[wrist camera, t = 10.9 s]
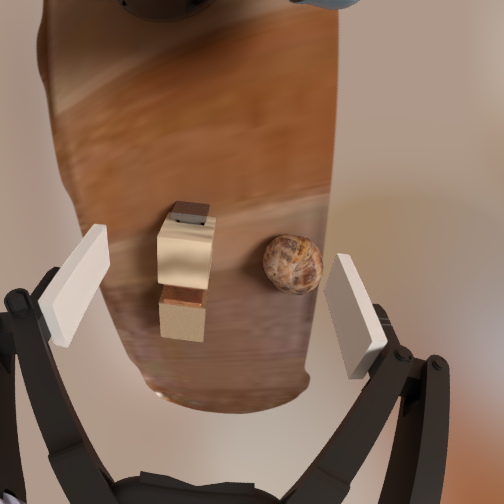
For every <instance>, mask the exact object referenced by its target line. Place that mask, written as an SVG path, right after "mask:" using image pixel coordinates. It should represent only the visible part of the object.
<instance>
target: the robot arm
mask: <svg viewBox="0 0 504 504" xmlns="http://www.w3.org/2000/svg"><path fill="white" fill-rule="evenodd" d="M118 1H119V2H120V4H121V5H122V6H123V7H124V8H125V9H126V10H127V11H128V12H130V13H132V14H133V15H135V16H138V17H140V18H142V19H145V20H149V21H154V22H171V21H177V20H181V19H184V18H187V17H190V16H192V15H195V14H197V13H198V12H200V11H202V10H203V9H205V8H206V7H208V6H209V5H210V4H211V3H212V2H213V1H214V0H118ZM289 1H290V2H292V3H296V4H298V3H299V4H309V5H313V6H317V7H321V8H325V9H329V10H331V9H332V10H338V9H344V8H347V7H350V6H351V5H354V4H355V3H357V2H358V1H360V0H289ZM109 267H110V259H109V251H108V241H107V231H106V225H99V224H94V225H93V226H92V227H91V229H90V230H89V231H88V232H87V234H86V235H85V236H84V237H83V239H82V240H81V241H80V243H79V244H78V245H77V246H76V248H75V249H74V250H73V252H72V253H71V254H70V256H69V257H68V258H67V260H66V261H65V263H64V264H63V265H62V267H61V268H59V267H54V268H52V269H51V270H49V271H48V272H47V273H46V275H45V276H44V277H43V278H42V280H41V281H40V283H39V285H37V287H36V288H35V290H34V291H33V293H32V294H31V295H29V293H28V291H27V290H25V289H22V288H18V289H14V290H12V291H10V292H9V293H8V294H7V295H6V297H5V298H4V304H5V306H6V309H7V311H8V312H2V313H0V504H27V501H26V489H25V482H24V477H23V471H22V465H21V458H20V452H19V443H18V434H17V423H16V406H15V354H17V355H18V360H19V364H20V368H21V372H22V376H23V379H24V383H25V386H26V390H27V393H28V396H29V399H30V402H31V406H32V409H33V412H34V414H35V417H36V420H37V423H38V426H39V428H40V431H41V433H42V436H43V439H44V441H45V443H46V446H47V448H48V451H49V455H48V458H49V462H50V464H51V466H52V469H53V471H54V473H55V475H56V477H57V479H58V481H59V483H60V485H61V487H62V489H63V491H64V493H65V495H66V497H67V498H68V500H69V502H70V504H341V503H342V501H343V500H344V498H345V497H346V495H347V494H348V492H349V490H350V483H351V481H352V480H353V478H354V477H355V475H356V474H357V472H358V470H359V469H360V467H361V465H362V464H363V462H364V461H365V459H366V457H367V455H368V454H369V452H370V450H371V448H372V447H373V445H374V443H375V441H376V440H377V437H378V436H379V434H380V432H381V430H382V428H383V427H384V425H385V423H386V421H387V419H388V417H389V415H390V413H391V411H392V409H393V407H394V405H395V403H396V401H397V399H398V396H401V402H400V409H399V415H398V420H397V426H396V431H395V436H394V442H393V446H392V451H391V456H390V460H389V464H388V468H387V472H386V476H385V480H384V484H383V487H382V491H381V494H380V498H379V501H378V504H440V500H441V494H442V487H443V480H444V474H445V465H446V456H447V446H448V432H449V409H450V378H449V377H450V375H449V365H448V363H447V361H446V360H445V359H444V358H442V357H441V356H439V355H431V356H430V357H429V358H428V359H427V360H426V361H425V360H421V359H418V358H414V357H413V354H412V353H411V351H410V350H409V349H407V348H406V347H404V346H402V345H400V343H399V340H398V338H397V336H396V334H395V332H394V329H393V327H392V326H391V323H390V320H388V316H387V314H386V312H385V310H384V309H383V308H382V307H381V306H380V305H379V304H372V303H371V301H370V299H369V296H368V295H367V292H366V290H365V288H364V285H363V283H362V281H361V279H360V277H359V275H358V272H357V270H356V268H355V266H354V264H353V262H352V260H351V258H350V256H349V255H347V254H339V253H337V255H336V258H335V261H334V263H333V266H332V269H331V272H330V275H329V278H328V280H327V283H326V286H325V289H324V293H325V296H326V300H327V303H328V306H329V310H330V313H331V317H332V320H333V324H334V327H335V330H336V334H337V338H338V341H339V345H340V349H341V352H342V356H343V360H344V363H345V367H346V370H347V375H348V378H349V379H363V378H364V377H365V375H366V374H367V372H368V373H369V376H370V379H369V380H368V382H367V383H366V385H365V386H364V388H363V389H362V390H361V391H362V392H361V393H360V395H359V396H358V398H357V400H356V401H355V403H354V404H353V406H352V407H351V409H350V410H349V412H348V413H347V415H346V416H345V418H344V419H343V421H342V422H341V424H340V425H339V427H338V428H337V430H336V431H335V432H334V434H333V435H332V437H331V438H330V439H329V441H328V442H327V444H326V445H325V446H324V448H323V449H322V450H321V452H320V453H319V454H318V456H317V457H316V458H315V460H314V461H313V462H312V463H311V465H310V466H309V467H308V469H307V470H306V471H305V472H304V474H303V475H302V476H301V477H300V478H299V480H298V481H297V482H296V483H295V484H294V485H293V486H292V487H291V489H290V490H289V491H288V492H287V493H286V494H285V495H284V496H283V497H282V498H281V499H280V500H279V499H278V498H276V497H275V496H273V495H271V494H269V493H267V492H265V491H263V490H260V489H256V488H254V483H236V482H224V483H218V484H210V485H203V486H194V485H191V484H189V483H186V482H183V481H180V480H177V479H175V478H172V477H170V476H166V475H159V474H153V473H148V472H143V471H141V472H140V476H134V477H128V478H125V479H122V480H119V481H117V482H114V480H113V479H112V477H111V476H110V474H109V473H108V471H107V470H106V468H105V467H104V465H103V464H102V462H101V460H100V459H99V457H98V455H97V453H96V452H95V450H94V448H93V446H92V444H91V442H90V440H89V438H88V436H87V435H86V432H85V431H84V428H83V426H82V425H81V422H80V420H79V418H78V416H77V414H76V412H75V410H74V407H73V405H72V403H71V401H70V398H69V396H68V394H67V391H66V389H65V386H64V384H63V381H62V379H61V377H60V374H59V371H58V369H57V366H56V363H55V360H54V358H53V355H52V352H51V349H50V346H49V344H48V341H49V339H50V337H52V340H53V342H54V344H55V345H59V346H63V347H66V348H68V346H69V344H70V342H71V340H72V338H73V335H74V334H75V331H76V329H77V327H78V325H79V323H80V321H81V319H82V317H83V315H84V313H85V311H86V309H87V307H88V305H89V303H90V301H91V299H92V298H93V295H94V294H95V292H96V290H97V288H98V286H99V285H100V283H101V281H102V279H103V277H104V275H105V274H106V272H107V270H108V268H109Z"/></svg>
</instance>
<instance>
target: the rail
mask: <svg viewBox="0 0 504 504" xmlns="http://www.w3.org/2000/svg"><path fill="white" fill-rule="evenodd" d="M208 212H209V204H200V203H191V202H182V201H177V202H176V204H175V206H174V208H173V210H172V212H171V219H178V220H180V223H186V224H195V225H201V222H204V223H206V221H207V216H208ZM209 282H210V279H209V281H208V288H207V289H203V290H198V289H190V288H183V287H175V286H167V285H164V288H163V291H162V294H161V298H160V301H159V315H160V330H161V337H167V338H174V339H181V340H189V341H197V342H203V339H204V331H205V323H206V315H207V305H208V293H209Z"/></svg>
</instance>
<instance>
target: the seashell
mask: <svg viewBox="0 0 504 504" xmlns="http://www.w3.org/2000/svg"><path fill="white" fill-rule="evenodd" d="M263 267H264V271H265V273H266V275H267V277H268V278H269V279H270V280H271V281H272V282H273V283H274V285H275V286H276V287H277V288H278V289H280V290H281V291H282V292H284V293H286V294H288V295H303V294H306V293H308V292H310V291H312V290H313V289H314V288H315V287H316V286H317V285H318V284H319V282H320V280H321V278H322V275H323V268H324V266H323V259H322V255H321V253H320V251H319V249H318V248H317V247H316V245H315V244H313V243H312V242H311V241H310V240H309V239H308V238H304V237H301V236H297V235H281V236H279V237H277V238H275V239H274V240H273V241H271V242H270V243H269V245H268V246H267V248H266V249H265V252H264V256H263Z"/></svg>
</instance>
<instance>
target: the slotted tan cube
mask: <svg viewBox="0 0 504 504" xmlns="http://www.w3.org/2000/svg"><path fill="white" fill-rule="evenodd" d="M215 224H216V218H215V217H207V221H206V223H205V225H204V226H203V225H195V224H186V223H178V219H171V212H169V213H168V215H167V217H166V219H165V221H164V223H163V225H162V227H161V230H160V232H159V234H158V236H157V260H158V283H161V284H163V285H167V286H175V287H183V288H190V289H198V290H203V289H207V288H208V281H209V274H210V268H211V261H212V252H213V242H214V233H215Z"/></svg>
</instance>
